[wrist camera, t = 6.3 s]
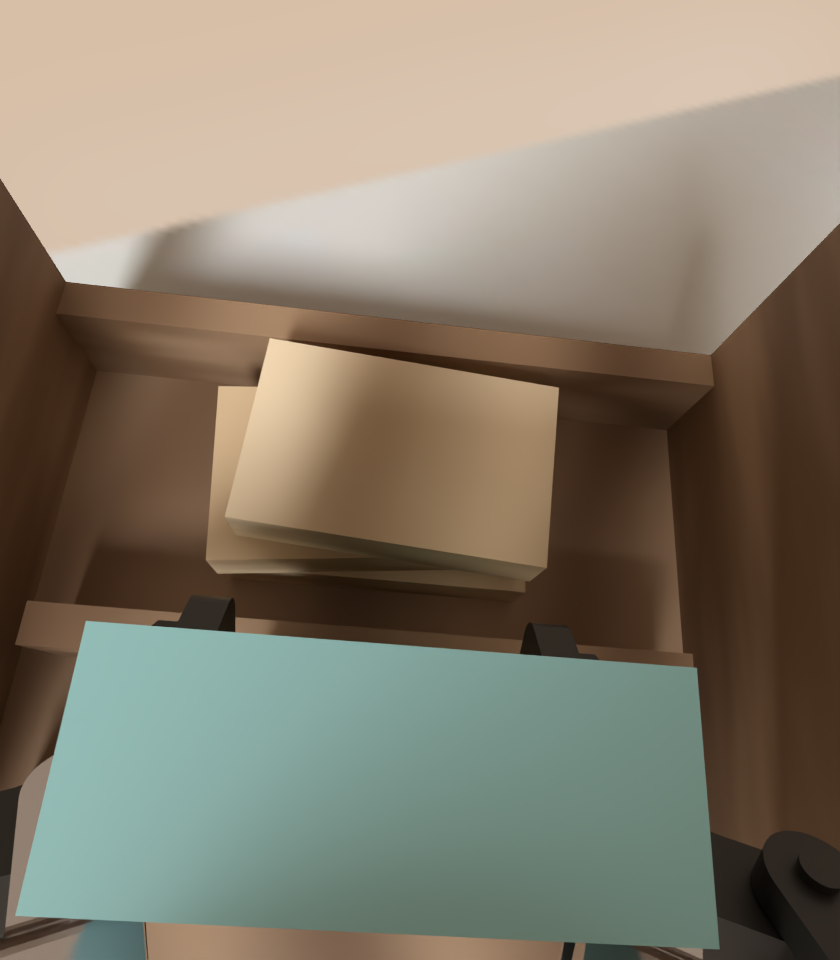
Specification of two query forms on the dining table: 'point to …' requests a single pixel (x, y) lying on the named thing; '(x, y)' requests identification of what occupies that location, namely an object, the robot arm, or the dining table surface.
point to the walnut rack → (428, 618)
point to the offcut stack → (382, 476)
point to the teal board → (375, 791)
